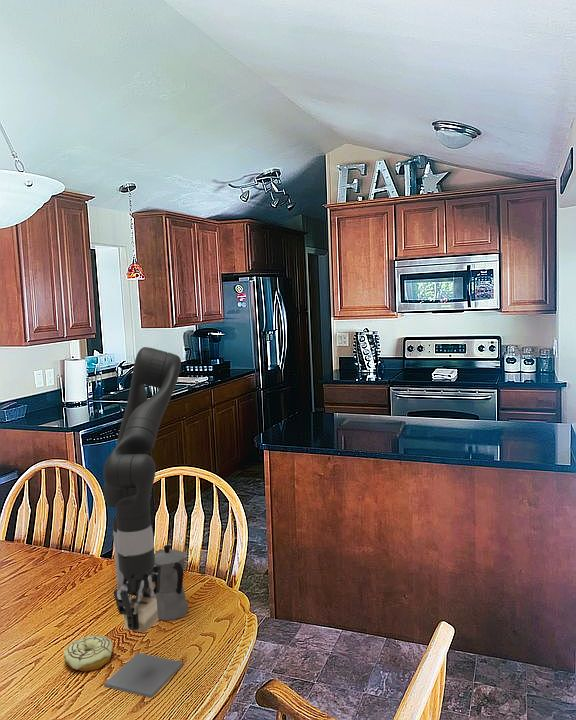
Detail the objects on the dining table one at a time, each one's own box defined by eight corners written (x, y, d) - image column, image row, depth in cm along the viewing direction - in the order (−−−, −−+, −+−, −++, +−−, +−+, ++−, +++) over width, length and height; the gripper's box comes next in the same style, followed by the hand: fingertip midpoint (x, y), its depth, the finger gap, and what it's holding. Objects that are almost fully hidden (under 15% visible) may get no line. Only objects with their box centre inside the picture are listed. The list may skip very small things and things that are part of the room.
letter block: (158, 620, 136) (156, 597, 135) (144, 632, 131) (142, 609, 130) (138, 617, 138) (136, 594, 137) (124, 628, 133) (122, 605, 132)
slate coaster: (138, 655, 143) (138, 652, 143) (183, 664, 139) (183, 662, 138) (104, 686, 132) (104, 683, 132) (151, 697, 128) (151, 695, 127)
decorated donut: (73, 680, 135) (71, 664, 135) (59, 658, 144) (58, 642, 143) (119, 662, 141) (118, 646, 140) (104, 642, 150) (103, 627, 149)
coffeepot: (144, 607, 165) (140, 542, 163) (177, 596, 170) (173, 533, 169) (167, 632, 152) (162, 561, 151) (202, 620, 158) (198, 551, 156)
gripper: (141, 532, 140) (146, 604, 142) (99, 558, 127) (105, 637, 129) (169, 535, 138) (174, 609, 139) (129, 562, 124) (136, 643, 126)
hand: (141, 622), depth 134 cm, fingers closed on letter block, 5 cm apart
